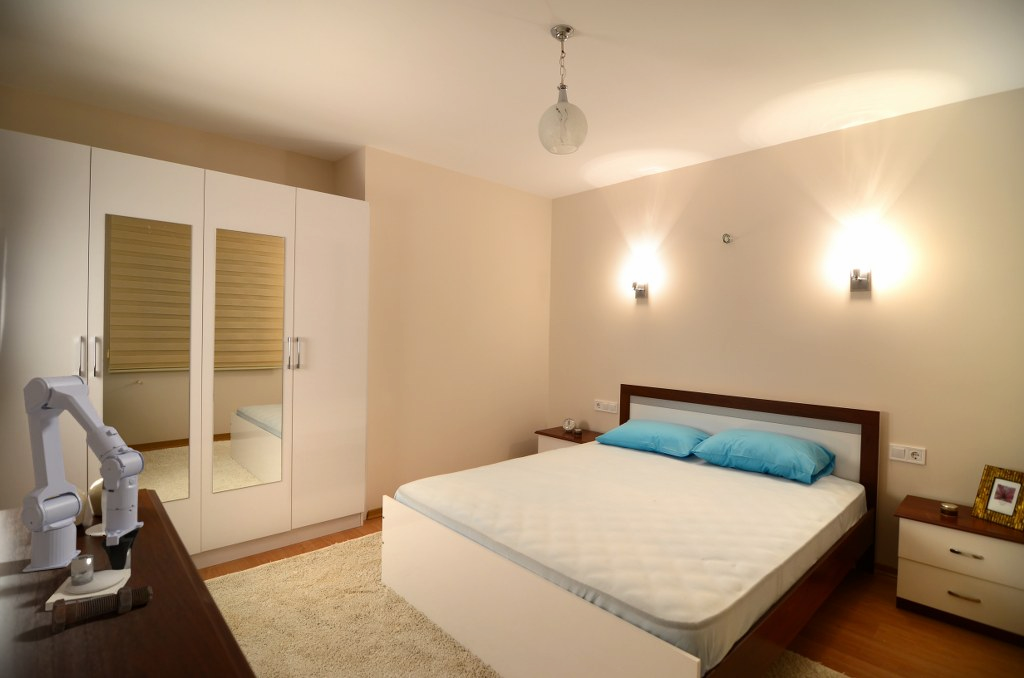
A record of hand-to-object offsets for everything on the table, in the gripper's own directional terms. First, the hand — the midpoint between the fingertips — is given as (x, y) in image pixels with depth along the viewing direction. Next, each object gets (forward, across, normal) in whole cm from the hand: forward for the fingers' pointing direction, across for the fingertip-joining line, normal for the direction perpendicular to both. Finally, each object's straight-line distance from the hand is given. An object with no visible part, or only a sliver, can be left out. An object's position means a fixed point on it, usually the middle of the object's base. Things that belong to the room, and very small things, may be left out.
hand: (121, 565), depth 119 cm
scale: (+1, -9, +3) cm, 10 cm away
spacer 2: (+2, 0, 0) cm, 2 cm away
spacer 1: (-1, -9, +4) cm, 10 cm away
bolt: (+2, -21, -2) cm, 21 cm away
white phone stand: (+2, +33, +10) cm, 35 cm away
